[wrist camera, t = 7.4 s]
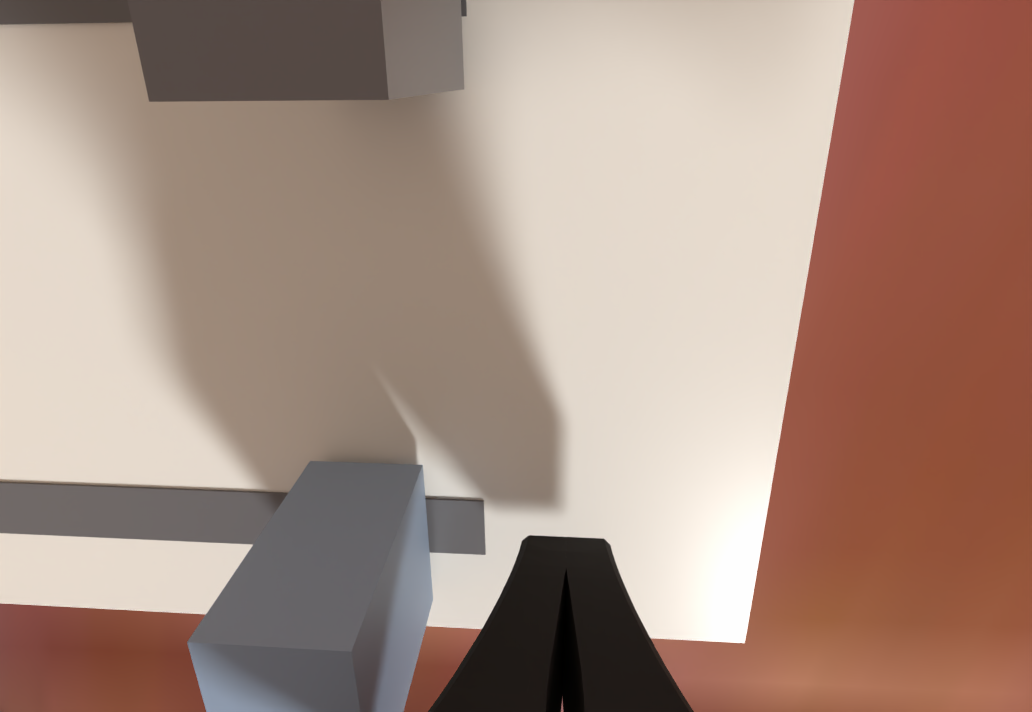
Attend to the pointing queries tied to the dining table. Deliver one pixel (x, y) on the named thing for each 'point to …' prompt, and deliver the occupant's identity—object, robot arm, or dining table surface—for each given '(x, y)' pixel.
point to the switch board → (412, 300)
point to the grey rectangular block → (324, 599)
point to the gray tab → (298, 49)
